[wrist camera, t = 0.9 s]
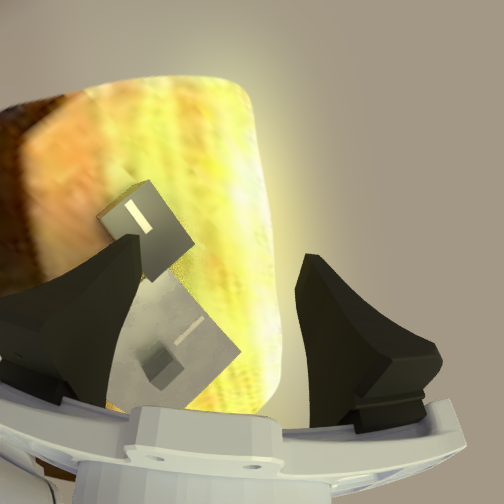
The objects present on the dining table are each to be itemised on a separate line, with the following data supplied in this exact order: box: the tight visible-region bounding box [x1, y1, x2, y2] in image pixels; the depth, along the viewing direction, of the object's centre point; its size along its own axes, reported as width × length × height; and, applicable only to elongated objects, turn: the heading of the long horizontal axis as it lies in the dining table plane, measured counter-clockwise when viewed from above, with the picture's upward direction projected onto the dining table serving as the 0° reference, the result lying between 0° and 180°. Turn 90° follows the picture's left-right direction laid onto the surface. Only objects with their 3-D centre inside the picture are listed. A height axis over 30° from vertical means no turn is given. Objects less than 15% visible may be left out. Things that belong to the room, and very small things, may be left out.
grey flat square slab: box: [106, 268, 241, 414], centre depth 25 cm, size 14×14×3 cm
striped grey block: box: [96, 180, 195, 283], centre depth 22 cm, size 6×4×5 cm
